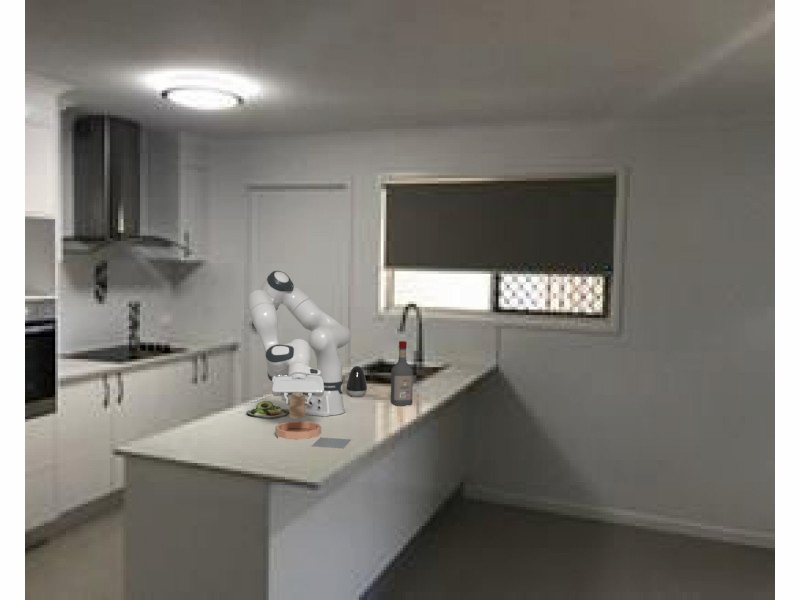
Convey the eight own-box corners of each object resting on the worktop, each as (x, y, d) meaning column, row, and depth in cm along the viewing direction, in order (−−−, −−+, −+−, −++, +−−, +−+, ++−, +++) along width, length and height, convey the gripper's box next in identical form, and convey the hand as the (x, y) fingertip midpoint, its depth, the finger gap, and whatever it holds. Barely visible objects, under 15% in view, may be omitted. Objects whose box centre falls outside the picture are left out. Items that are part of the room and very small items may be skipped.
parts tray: (311, 448, 238) (311, 446, 238) (320, 440, 250) (320, 437, 250) (343, 451, 236) (343, 448, 236) (351, 442, 248) (351, 439, 248)
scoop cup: (289, 417, 252) (290, 393, 251) (290, 413, 257) (290, 390, 257) (304, 417, 252) (304, 393, 252) (304, 413, 258) (305, 390, 257)
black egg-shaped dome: (343, 397, 327) (344, 367, 326) (350, 393, 337) (350, 363, 336) (363, 398, 324) (363, 368, 323) (369, 394, 334) (369, 365, 333)
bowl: (269, 440, 248) (269, 430, 248) (284, 428, 265) (284, 420, 265) (313, 443, 246) (313, 433, 245) (325, 431, 262) (325, 422, 262)
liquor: (413, 405, 312) (415, 342, 310) (395, 406, 309) (396, 343, 307) (407, 401, 320) (408, 340, 318) (389, 402, 318) (390, 340, 316)
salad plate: (301, 414, 292) (302, 403, 292) (275, 422, 277) (275, 411, 276) (267, 408, 302) (268, 398, 301) (240, 416, 286) (240, 405, 286)
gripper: (272, 370, 260) (269, 399, 251) (324, 370, 262) (323, 400, 253) (273, 379, 264) (270, 408, 255) (324, 379, 267) (323, 409, 258)
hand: (297, 404), depth 254 cm, fingers closed on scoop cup, 6 cm apart
